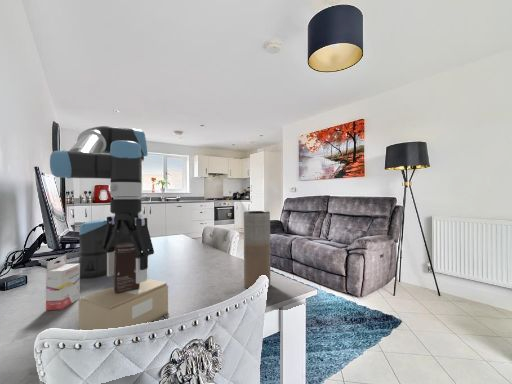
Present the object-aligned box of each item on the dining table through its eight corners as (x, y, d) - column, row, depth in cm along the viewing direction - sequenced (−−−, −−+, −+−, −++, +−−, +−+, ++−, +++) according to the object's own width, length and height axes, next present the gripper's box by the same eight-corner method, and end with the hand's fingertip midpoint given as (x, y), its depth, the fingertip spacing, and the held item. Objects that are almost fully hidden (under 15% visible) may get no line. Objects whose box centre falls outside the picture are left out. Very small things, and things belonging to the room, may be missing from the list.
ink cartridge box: (62, 310, 74) (62, 260, 74) (45, 310, 73) (45, 261, 73) (80, 298, 82) (80, 254, 82) (65, 298, 82) (65, 254, 82)
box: (115, 294, 63) (116, 247, 63) (113, 289, 67) (114, 244, 67) (140, 289, 66) (141, 244, 67) (137, 284, 70) (138, 242, 70)
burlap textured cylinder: (239, 288, 89) (239, 212, 89) (250, 279, 98) (249, 210, 99) (265, 292, 85) (264, 213, 86) (273, 282, 95) (273, 211, 95)
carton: (78, 331, 62) (78, 299, 62) (138, 304, 77) (138, 278, 77) (110, 345, 56) (110, 310, 56) (168, 313, 71) (168, 285, 71)
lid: (81, 300, 61) (81, 297, 62) (140, 279, 77) (140, 276, 77) (108, 309, 56) (108, 306, 56) (166, 284, 71) (166, 282, 71)
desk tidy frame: (38, 264, 123) (38, 259, 123) (82, 255, 141) (82, 251, 141) (59, 269, 114) (59, 264, 114) (103, 259, 132) (103, 254, 132)
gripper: (86, 198, 69) (86, 275, 69) (143, 198, 58) (144, 290, 58) (112, 198, 76) (112, 268, 75) (168, 198, 65) (168, 280, 64)
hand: (126, 278), depth 67 cm, fingers open, 11 cm apart
